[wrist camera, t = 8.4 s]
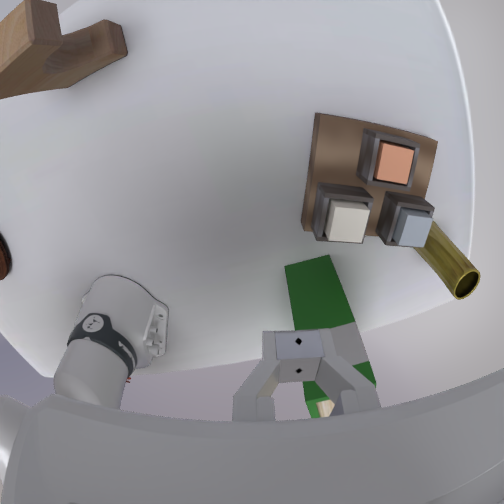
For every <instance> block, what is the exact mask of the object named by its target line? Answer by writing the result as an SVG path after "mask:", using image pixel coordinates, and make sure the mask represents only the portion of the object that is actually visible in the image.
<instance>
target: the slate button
mask: <svg viewBox="0 0 504 504" xmlns="http://www.w3.org/2000/svg"><path fill="white" fill-rule="evenodd" d="M432 221H433V218H432V217H431V216H430V215H429V214H428V213H426V212H425V211H424V210H420V209H413V208H407V207H401V208H400V211H399V215H398V218H397V222H396V225H395V229H394V232H393V235H392V238H393V239H394V240H395V242H396V243H397V244H398V245H400V246H413V247H424V245H425V242H426V239H427V236H428V233H429V230H430V227H431V224H432Z"/></svg>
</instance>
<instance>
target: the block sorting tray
mask: <svg viewBox="0 0 504 504" xmlns="http://www.w3.org/2000/svg"><path fill="white" fill-rule="evenodd" d="M380 140H383V141H387V142H392V143H396V144H400V145H403V146H405V147H407V148H410V149H412V150H414V154H413V159H412V163H411V168H410V173H409V177H408V181H407V184H403V183H397V182H392V181H386V180H380V179H376V178H375V177H374V176H373V174H374V169H375V164H376V159H377V153H378V147H379V142H380ZM437 144H438V141H436V140H433V139H431V138H428V137H425V136H422V135H418V134H415V133H411V132H408V131H404V130H400V129H396V128H392V127H388V126H384V125H380V124H375V123H371V122H366V121H361V120H356V119H351V118H346V117H340V116H334V115H328V114H321V113H315V119H314V128H313V136H312V145H311V153H310V161H309V168H308V176H307V183H306V190H305V197H304V204H303V211H302V218H301V223H302V226H303V229H304V231H311V232H313V233H314V236H315V238H316V241H329V240H328V238H327V236H326V234H325V232H324V230H323V229H324V224H325V219H326V214H327V208H328V203H329V198H334V199H343V200H352V201H361V202H363V203H364V204H365V205H366V206H367V208H368V209H369V210H370V212H369V216H368V220H367V224H366V228H365V232H364V236H363V239H362V243H360V244H363V240H364V237H365V235H367V236H379V237H380V238H381V240H382V241H383V242H384V244H385V245H389V246H400V245H398V244H397V243H396V242H395V240H394V239H393V238H392V235H393V232H394V229H395V225H396V222H397V218H398V215H399V211H400V208H401V207H407V208H413V209H420V210H424V211H425V212H426V213H428V214H429V215H430V216H431V217H432V215H433V212H434V209H435V208H434V207H433V206H432V205H431V204H430V203H428V202H427V201H426V200H425V195H426V192H427V188H428V184H429V180H430V176H431V172H432V167H433V163H434V158H435V154H436V149H437ZM329 242H342V241H329ZM345 243H357V242H345ZM403 247H413V246H403ZM416 248H421V247H416Z"/></svg>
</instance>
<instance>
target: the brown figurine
mask: <svg viewBox="0 0 504 504" xmlns="http://www.w3.org/2000/svg"><path fill="white" fill-rule="evenodd" d="M10 261H11V259H10V258H8V257H7V253H6V251H5V248H4V246H3V244H2V242H1V241H0V280H3V279H4V278H5V277H6V276H7V274H8V272H9V263H10Z"/></svg>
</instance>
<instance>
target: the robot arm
mask: <svg viewBox="0 0 504 504" xmlns="http://www.w3.org/2000/svg"><path fill="white" fill-rule="evenodd" d="M82 304H83V305H82V308H81V310H80V312H79V315H78V317H77V319H76V322H75V324H74V330H73V332H71V334H70V336H69V340H68V343H67V349H66V351H65V354H64V356H63V358H62V360H61V362H60V364H59V366H58V368H57V370H56V372H55V375H54V389H55V393H56V394H52V395H50V396H48V397H46V398H44V399H43V400H41V401H40V402H38V403H37V404H36V405H34V406H33V407H29V406H27V405H25V404H23V403H21V402H19V401H17V400H15V399H13V398H11V397H9V396H7V395H1V396H0V479H1V482H2V486H3V490H2V497H1V504H504V368H503V369H501V370H498V371H496V372H494V373H491V374H489V375H487V376H484V377H482V378H479V379H477V380H474V381H472V382H469V383H466V384H464V385H461V386H458V387H455V388H453V389H449V390H446V391H443V392H440V393H437V394H434V395H430V396H427V397H424V398H420V399H416V400H413V401H409V402H405V403H401V404H397V405H392V406H388V407H383V408H381V405H380V402H379V398H378V395H377V392H376V388H375V385H374V384H373V383H371V382H370V381H369V380H368V379H367V378H365V377H364V376H363V375H362V374H361V373H360V372H358V371H357V370H356V369H355V368H354V367H353V366H352V365H350V364H349V363H348V362H347V361H346V360H345V359H343V358H342V357H341V356H337V353H336V349H335V346H334V342H333V338H332V335H331V331H330V329H329V328H325V329H309V330H296V331H263V336H262V361H260V362H259V364H258V365H257V366H256V367H255V369H254V370H253V371H252V373H251V374H250V375H249V377H248V378H247V379H246V380H245V382H244V383H243V384H242V386H241V387H240V388H239V390H238V391H237V392H236V393H235V395H234V396H233V415H232V421H206V420H192V419H180V418H171V417H163V416H155V415H148V414H141V413H135V412H129V411H124V410H120V405H121V400H122V395H123V391H124V387H125V383H126V382H129V381H126V380H127V379H131V378H130V377H129V376H130V375H131V374H132V372H133V371H134V370H135V369H138V368H145V367H148V366H149V365H150V364H151V361H152V358H153V357H159V356H162V355H164V353H165V351H166V335H167V322H168V308H167V306H165V305H164V304H162V303H161V302H159V301H157V300H155V299H154V298H153V297H152V296H151V295H150V294H149V293H148V292H147V291H146V290H145V289H143V288H142V287H141V286H140V285H138V284H137V283H135V282H133V281H131V280H129V279H126V278H124V277H120V276H112V275H109V276H103V277H100V278H98V279H97V280H96V281H95V282H94V283H93V284H92V287H91V289H90V291H89V292H88V293H87V294H85V295H84V296H83V298H82ZM161 314H162V315H161ZM298 381H299V382H300V381H315V382H316V383H317V384H318V386H319V387H320V388H321V389H322V390H323V391H324V393H325V394H326V395H327V396H328V397H329V398H330V400H331V401H332V402H333V403H334V404H335V406H334V408H333V410H332V411H331V413H330V415H329V417H320V418H310V419H299V420H285V421H275V407H274V399H273V398H272V397H271V395H272V394H273V392H274V390H275V389H276V387H277V385H278V383H286V382H298ZM129 383H130V382H129Z"/></svg>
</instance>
